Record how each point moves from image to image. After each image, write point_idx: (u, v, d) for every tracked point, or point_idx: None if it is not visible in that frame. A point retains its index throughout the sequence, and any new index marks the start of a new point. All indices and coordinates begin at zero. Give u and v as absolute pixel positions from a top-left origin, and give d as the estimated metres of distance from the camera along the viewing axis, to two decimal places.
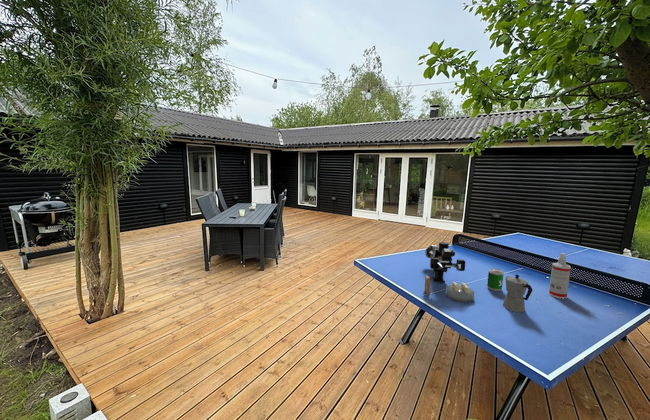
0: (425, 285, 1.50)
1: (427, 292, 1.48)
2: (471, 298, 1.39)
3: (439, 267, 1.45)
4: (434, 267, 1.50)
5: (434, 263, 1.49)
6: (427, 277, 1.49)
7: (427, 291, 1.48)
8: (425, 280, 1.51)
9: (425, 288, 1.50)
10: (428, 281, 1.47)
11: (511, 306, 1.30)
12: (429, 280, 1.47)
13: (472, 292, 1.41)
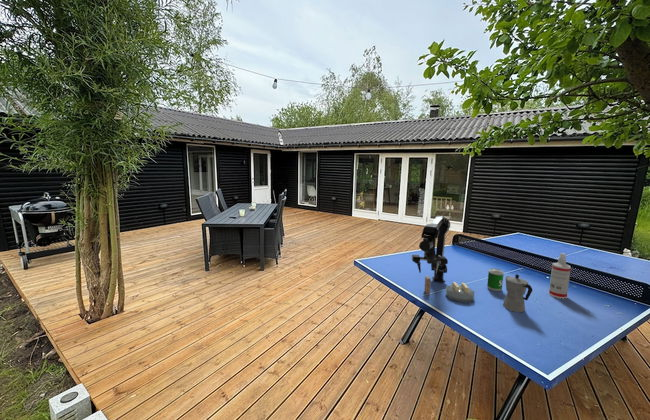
0: (425, 285, 1.50)
1: (427, 292, 1.48)
2: (471, 298, 1.39)
3: (418, 268, 1.50)
4: None
5: None
6: (427, 277, 1.49)
7: (427, 291, 1.48)
8: (425, 280, 1.51)
9: (425, 288, 1.50)
10: (428, 281, 1.47)
11: (511, 306, 1.30)
12: (429, 280, 1.47)
13: (472, 292, 1.41)
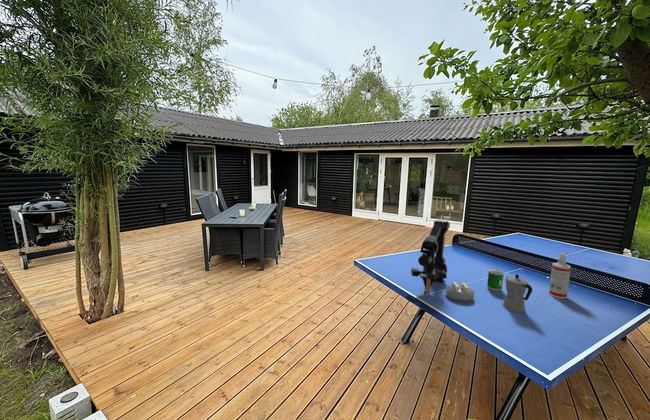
0: None
1: (427, 292, 1.48)
2: (471, 298, 1.39)
3: None
4: None
5: None
6: None
7: (427, 291, 1.48)
8: None
9: (425, 288, 1.50)
10: (429, 281, 1.47)
11: (511, 306, 1.30)
12: (429, 280, 1.47)
13: (472, 292, 1.41)
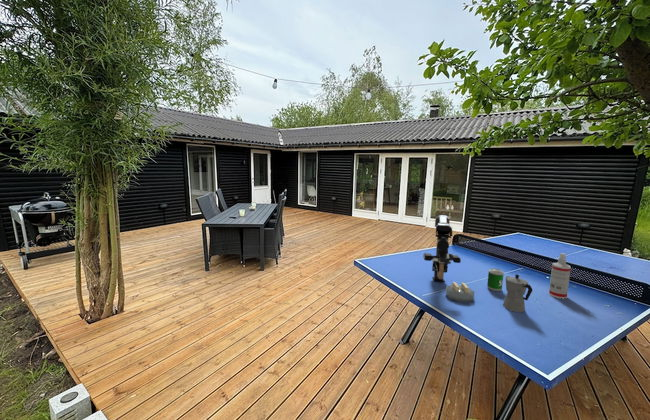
0: None
1: (440, 277, 1.44)
2: (471, 298, 1.39)
3: (436, 267, 1.47)
4: None
5: None
6: (440, 262, 1.46)
7: (440, 276, 1.44)
8: None
9: (438, 273, 1.47)
10: (442, 265, 1.43)
11: (511, 306, 1.30)
12: (442, 265, 1.43)
13: (472, 292, 1.41)
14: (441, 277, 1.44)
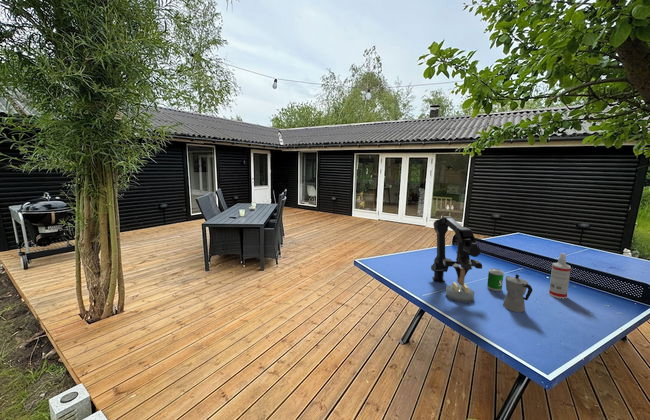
0: None
1: (461, 283, 1.41)
2: (471, 298, 1.39)
3: None
4: None
5: None
6: (461, 267, 1.43)
7: (461, 282, 1.41)
8: None
9: (458, 279, 1.44)
10: (463, 271, 1.41)
11: (511, 306, 1.30)
12: (463, 270, 1.40)
13: (472, 292, 1.41)
14: (462, 283, 1.41)
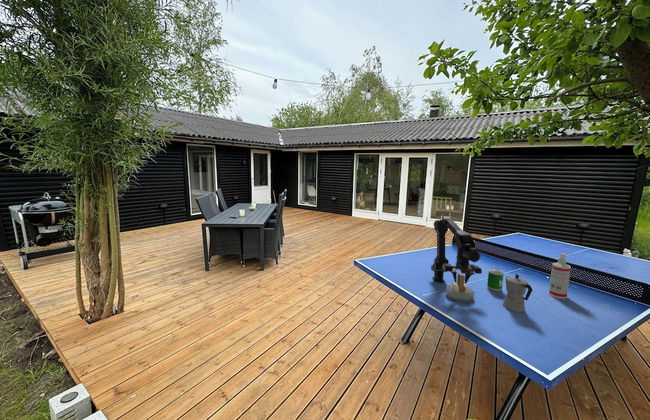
0: (458, 282, 1.45)
1: (461, 290, 1.42)
2: (471, 298, 1.39)
3: (453, 277, 1.45)
4: None
5: None
6: (460, 274, 1.43)
7: (460, 289, 1.42)
8: (458, 277, 1.45)
9: (458, 285, 1.44)
10: (462, 278, 1.41)
11: (511, 306, 1.30)
12: (463, 277, 1.41)
13: (472, 292, 1.41)
14: (462, 290, 1.42)
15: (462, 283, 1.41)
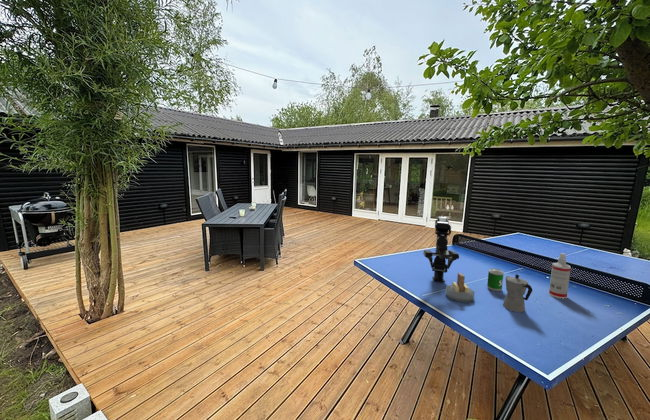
0: (458, 282, 1.45)
1: (461, 290, 1.42)
2: (471, 298, 1.39)
3: (430, 263, 1.54)
4: None
5: None
6: (460, 274, 1.43)
7: (460, 289, 1.42)
8: (458, 277, 1.45)
9: (458, 285, 1.44)
10: (462, 278, 1.41)
11: (511, 306, 1.30)
12: (463, 277, 1.41)
13: (472, 292, 1.41)
14: (462, 290, 1.42)
15: (462, 283, 1.41)
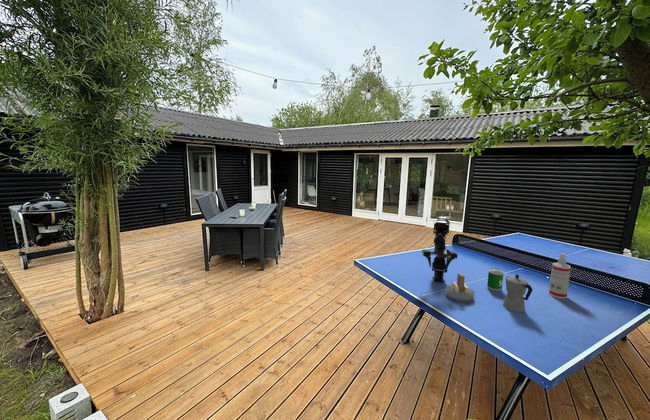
0: (458, 282, 1.45)
1: (461, 290, 1.42)
2: (471, 298, 1.39)
3: (428, 262, 1.55)
4: None
5: None
6: (460, 274, 1.43)
7: (460, 289, 1.42)
8: (458, 277, 1.45)
9: (458, 285, 1.44)
10: (462, 278, 1.41)
11: (511, 306, 1.30)
12: (463, 277, 1.41)
13: (472, 292, 1.41)
14: (462, 290, 1.42)
15: (462, 283, 1.41)
